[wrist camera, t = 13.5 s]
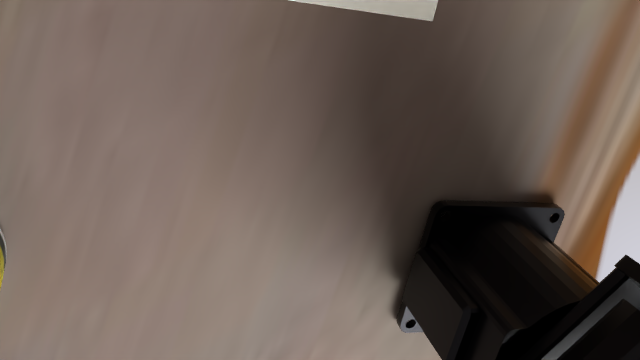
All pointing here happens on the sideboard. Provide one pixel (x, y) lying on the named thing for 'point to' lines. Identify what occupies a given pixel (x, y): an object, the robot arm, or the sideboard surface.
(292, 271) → the sideboard surface
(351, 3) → the white u-shaped piece
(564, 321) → the robot arm
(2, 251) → the supplement bottle
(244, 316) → the sideboard surface
